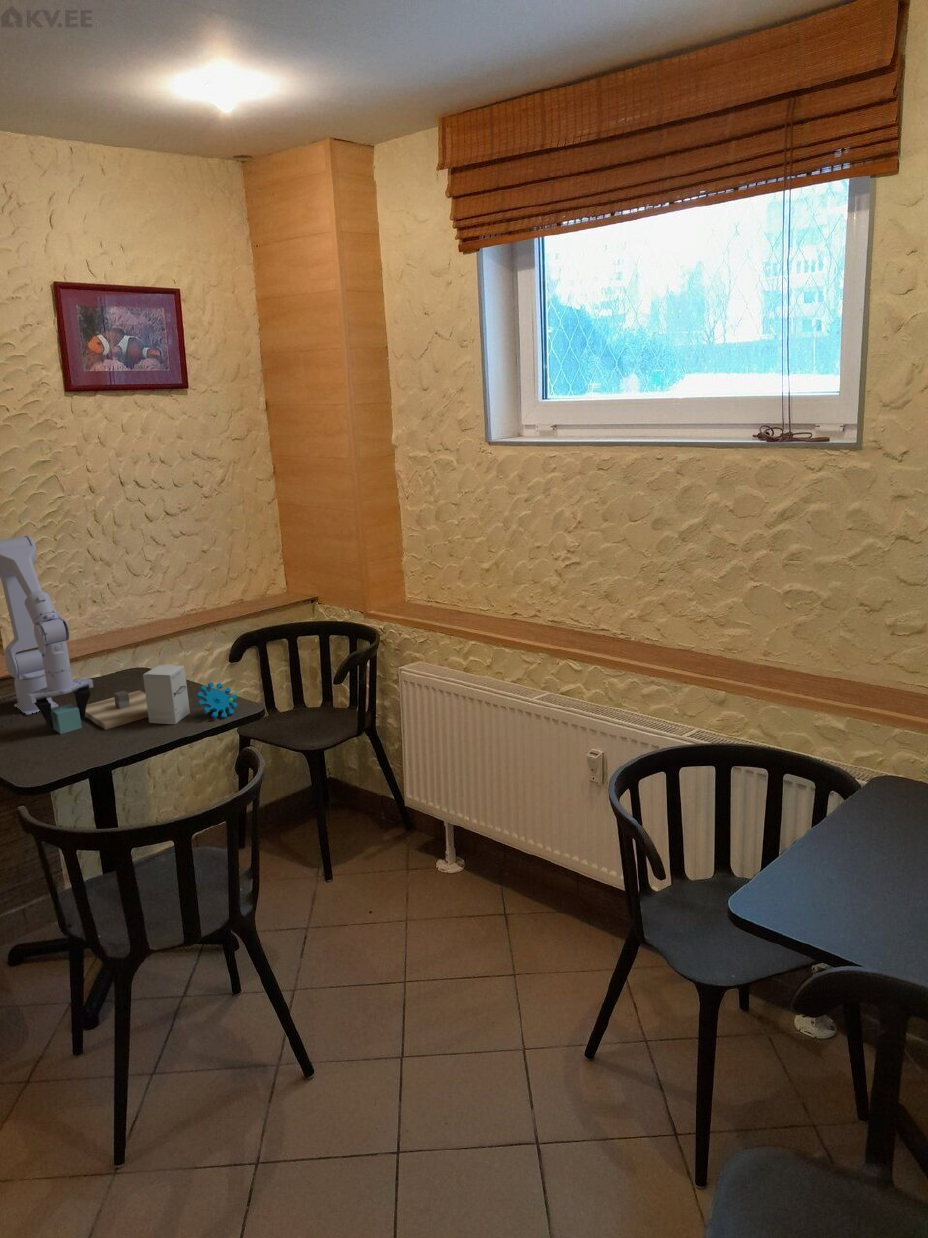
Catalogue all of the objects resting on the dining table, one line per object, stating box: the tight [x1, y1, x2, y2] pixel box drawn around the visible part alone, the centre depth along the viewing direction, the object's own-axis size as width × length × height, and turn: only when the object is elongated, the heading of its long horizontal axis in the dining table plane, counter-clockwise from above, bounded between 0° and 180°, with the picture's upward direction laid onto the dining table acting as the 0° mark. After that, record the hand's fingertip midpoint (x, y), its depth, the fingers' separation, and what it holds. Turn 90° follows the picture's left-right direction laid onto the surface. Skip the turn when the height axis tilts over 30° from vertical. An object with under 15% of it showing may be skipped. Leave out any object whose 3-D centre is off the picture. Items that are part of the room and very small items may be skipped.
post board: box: [85, 690, 149, 730], centre depth 234 cm, size 16×16×5 cm
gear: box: [196, 681, 240, 719], centre depth 231 cm, size 11×6×10 cm
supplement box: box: [142, 664, 191, 725], centre depth 227 cm, size 7×7×13 cm
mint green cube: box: [51, 703, 83, 735], centre depth 224 cm, size 5×5×5 cm
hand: (66, 722), depth 225 cm, fingers open, 7 cm apart
